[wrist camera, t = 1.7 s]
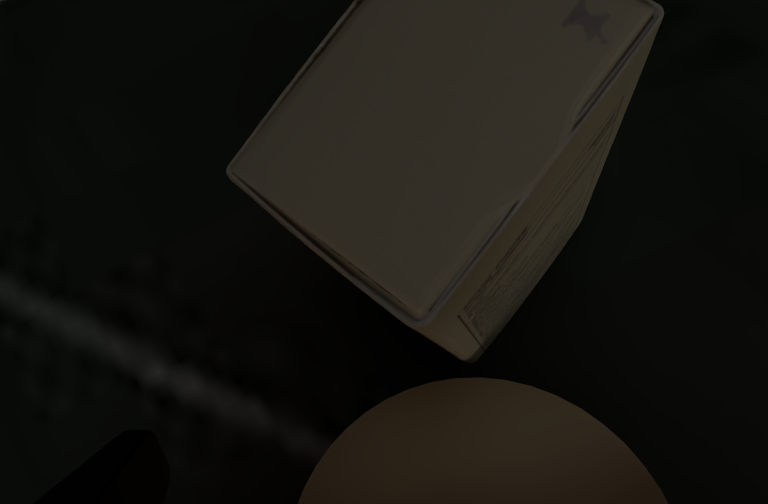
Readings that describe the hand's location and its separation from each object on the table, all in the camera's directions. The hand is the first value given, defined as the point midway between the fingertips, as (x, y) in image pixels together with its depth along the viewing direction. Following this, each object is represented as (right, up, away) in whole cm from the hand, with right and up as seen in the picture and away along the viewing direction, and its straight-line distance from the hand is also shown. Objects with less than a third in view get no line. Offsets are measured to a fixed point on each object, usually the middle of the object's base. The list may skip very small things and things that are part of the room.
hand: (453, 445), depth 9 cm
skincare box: (+2, +2, +13) cm, 13 cm away
